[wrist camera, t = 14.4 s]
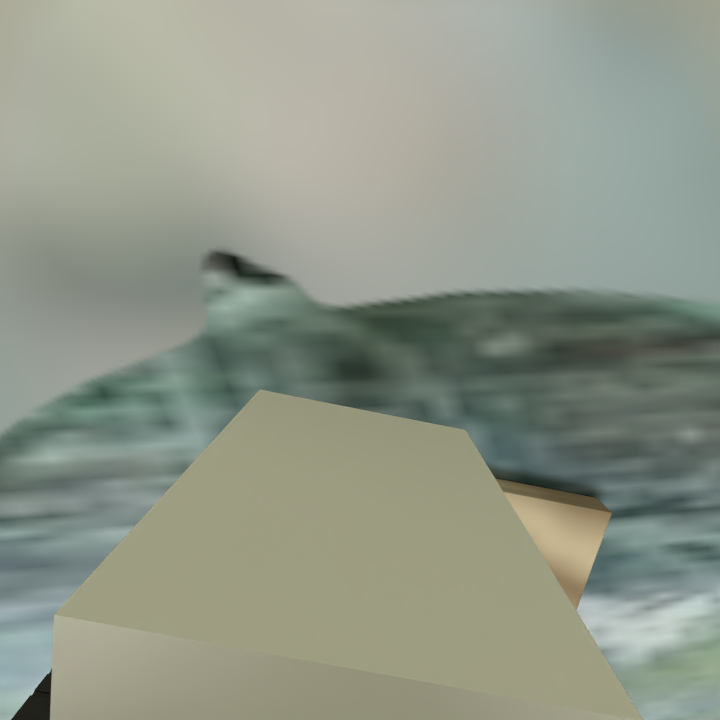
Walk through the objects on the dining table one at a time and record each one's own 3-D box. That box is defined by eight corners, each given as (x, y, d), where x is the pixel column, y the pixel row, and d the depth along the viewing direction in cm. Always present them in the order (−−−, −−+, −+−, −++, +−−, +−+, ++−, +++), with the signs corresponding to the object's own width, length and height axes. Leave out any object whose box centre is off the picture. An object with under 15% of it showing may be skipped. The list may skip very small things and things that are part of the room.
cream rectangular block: (384, 725, 16) (403, 1252, 8) (213, 695, 16) (30, 1197, 7) (465, 429, 14) (643, 720, 5) (259, 389, 13) (54, 614, 5)
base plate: (506, 752, 37) (513, 779, 35) (354, 725, 36) (354, 750, 34) (596, 497, 31) (611, 512, 29) (420, 463, 31) (423, 476, 29)
